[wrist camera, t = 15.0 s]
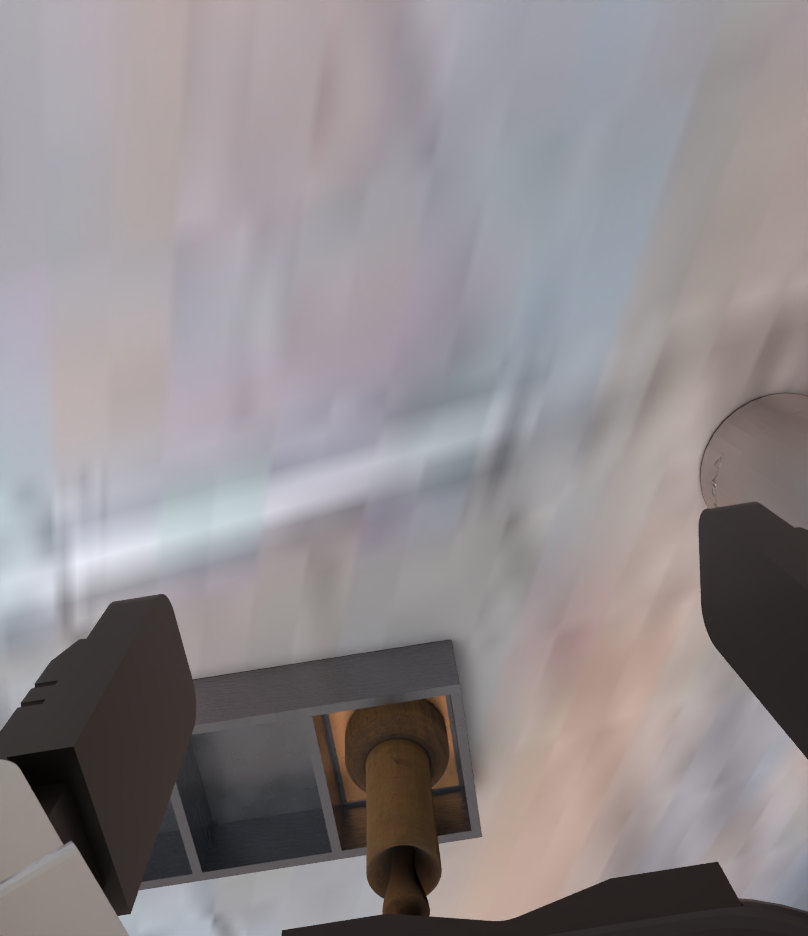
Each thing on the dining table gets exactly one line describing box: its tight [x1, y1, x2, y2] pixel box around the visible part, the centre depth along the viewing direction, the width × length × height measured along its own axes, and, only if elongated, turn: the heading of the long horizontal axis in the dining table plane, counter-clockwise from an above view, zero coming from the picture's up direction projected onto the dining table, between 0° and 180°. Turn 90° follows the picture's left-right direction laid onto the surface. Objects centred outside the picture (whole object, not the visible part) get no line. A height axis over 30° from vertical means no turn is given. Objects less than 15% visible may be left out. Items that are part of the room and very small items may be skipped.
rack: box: [139, 640, 482, 890], centre depth 49 cm, size 27×12×5 cm, turn 99°
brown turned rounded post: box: [345, 699, 449, 916], centre depth 41 cm, size 7×6×18 cm
